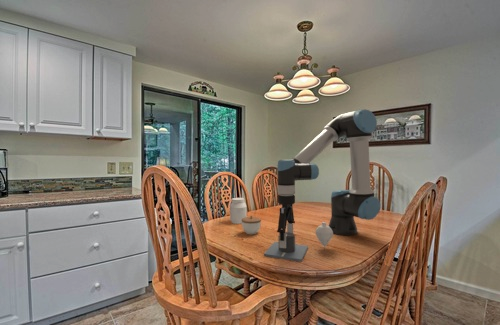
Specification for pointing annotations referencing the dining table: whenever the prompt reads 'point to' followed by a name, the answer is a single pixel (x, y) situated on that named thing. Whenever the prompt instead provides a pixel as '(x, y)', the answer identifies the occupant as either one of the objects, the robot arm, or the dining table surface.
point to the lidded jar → (251, 224)
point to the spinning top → (324, 234)
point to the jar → (237, 210)
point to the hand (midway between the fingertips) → (286, 242)
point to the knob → (289, 243)
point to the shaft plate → (294, 256)
